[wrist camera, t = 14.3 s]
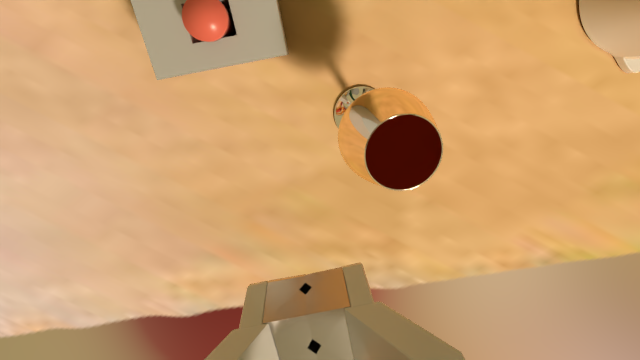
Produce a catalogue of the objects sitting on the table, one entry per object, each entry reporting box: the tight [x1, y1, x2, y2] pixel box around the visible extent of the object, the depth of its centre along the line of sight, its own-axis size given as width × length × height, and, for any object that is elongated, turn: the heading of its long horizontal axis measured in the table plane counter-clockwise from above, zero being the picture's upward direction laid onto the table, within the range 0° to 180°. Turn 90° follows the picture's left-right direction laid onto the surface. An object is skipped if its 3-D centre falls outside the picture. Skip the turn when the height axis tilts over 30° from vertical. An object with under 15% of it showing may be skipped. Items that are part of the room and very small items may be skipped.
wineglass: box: [334, 86, 443, 191], centre depth 33 cm, size 8×8×18 cm
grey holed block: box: [131, 0, 289, 80], centre depth 34 cm, size 12×8×8 cm, turn 100°
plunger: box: [182, 0, 236, 42], centre depth 33 cm, size 4×4×9 cm
